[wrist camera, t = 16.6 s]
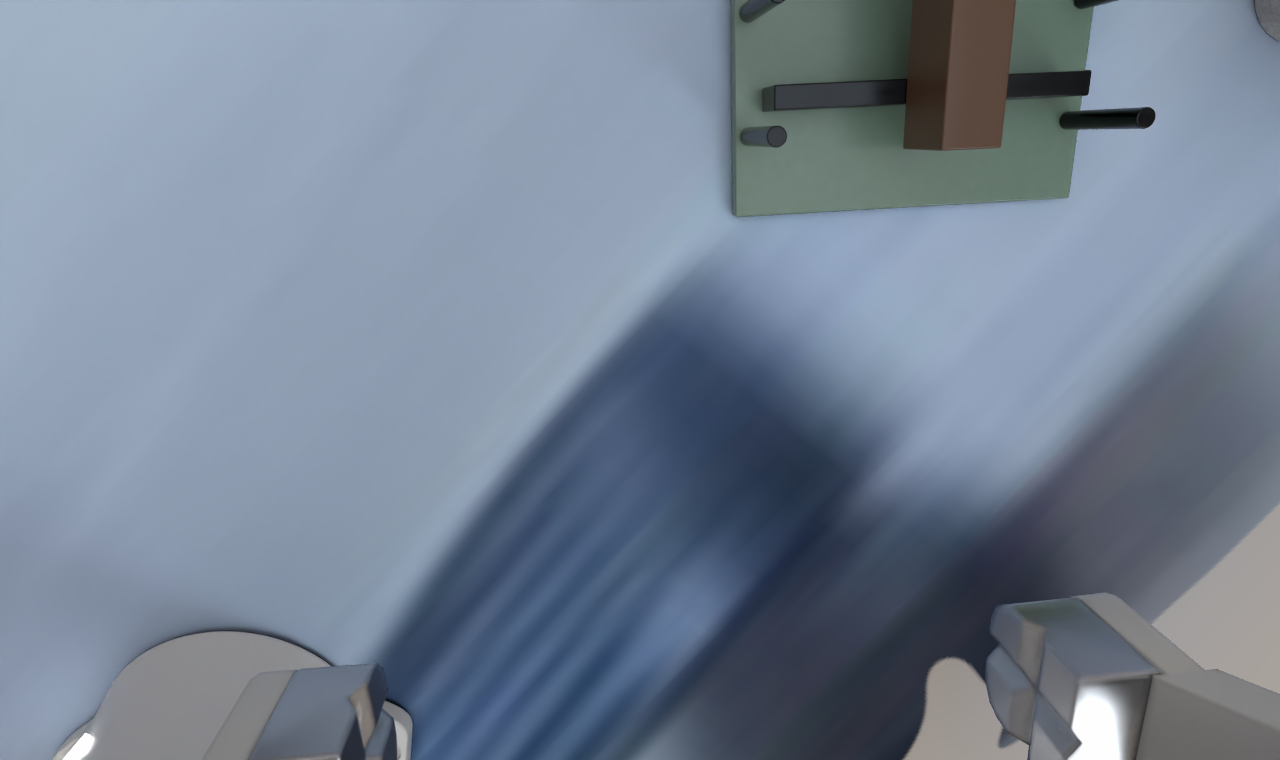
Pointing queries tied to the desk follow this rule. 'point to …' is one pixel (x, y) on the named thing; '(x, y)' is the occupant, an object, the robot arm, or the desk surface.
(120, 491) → the desk surface
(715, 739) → the desk surface
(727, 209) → the desk surface
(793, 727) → the desk surface
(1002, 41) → the knife
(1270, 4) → the house plant
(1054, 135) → the rack
